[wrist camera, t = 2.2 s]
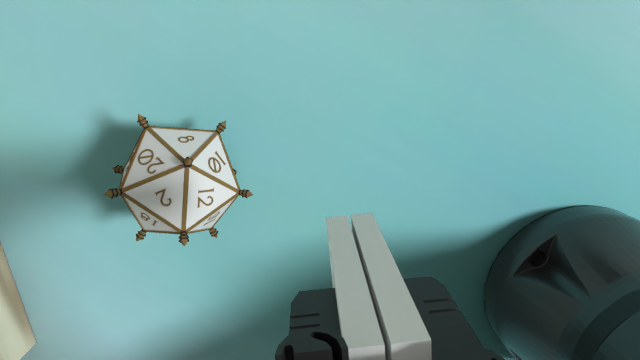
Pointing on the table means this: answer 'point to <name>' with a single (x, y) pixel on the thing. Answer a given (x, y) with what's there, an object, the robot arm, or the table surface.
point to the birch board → (12, 317)
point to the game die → (178, 180)
